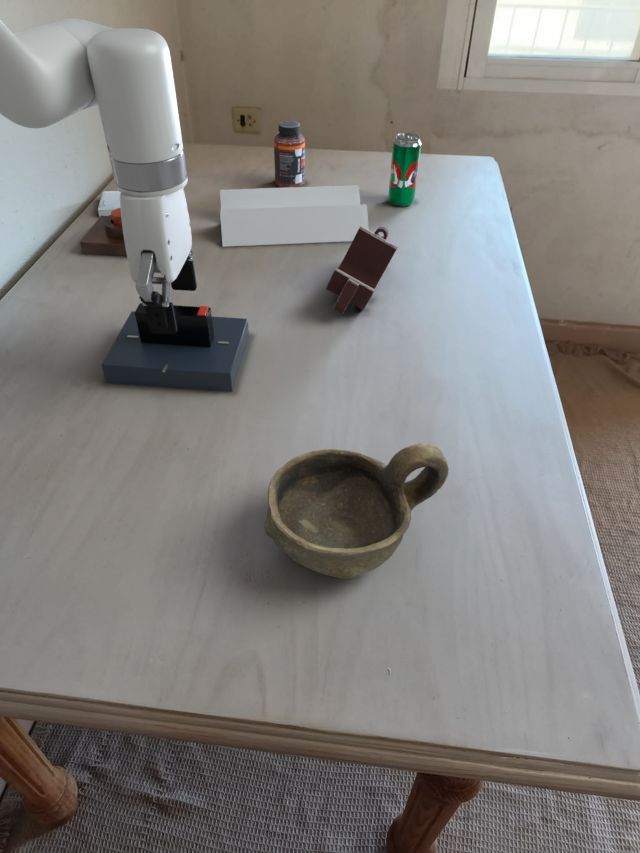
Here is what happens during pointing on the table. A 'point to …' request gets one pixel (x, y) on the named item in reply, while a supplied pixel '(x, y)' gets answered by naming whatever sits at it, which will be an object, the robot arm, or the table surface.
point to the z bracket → (291, 215)
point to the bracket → (361, 269)
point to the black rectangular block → (180, 327)
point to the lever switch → (178, 359)
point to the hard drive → (109, 202)
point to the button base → (104, 239)
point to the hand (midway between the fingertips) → (174, 309)
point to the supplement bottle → (289, 155)
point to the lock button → (116, 217)
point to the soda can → (404, 169)
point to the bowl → (349, 506)
